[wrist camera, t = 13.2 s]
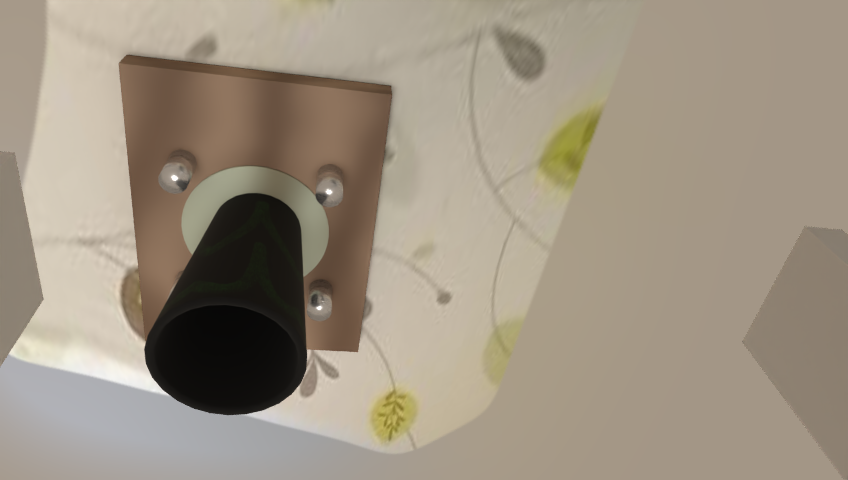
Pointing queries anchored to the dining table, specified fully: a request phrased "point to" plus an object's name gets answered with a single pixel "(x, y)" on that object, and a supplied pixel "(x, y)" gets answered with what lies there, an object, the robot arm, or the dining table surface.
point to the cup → (236, 313)
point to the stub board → (256, 174)
